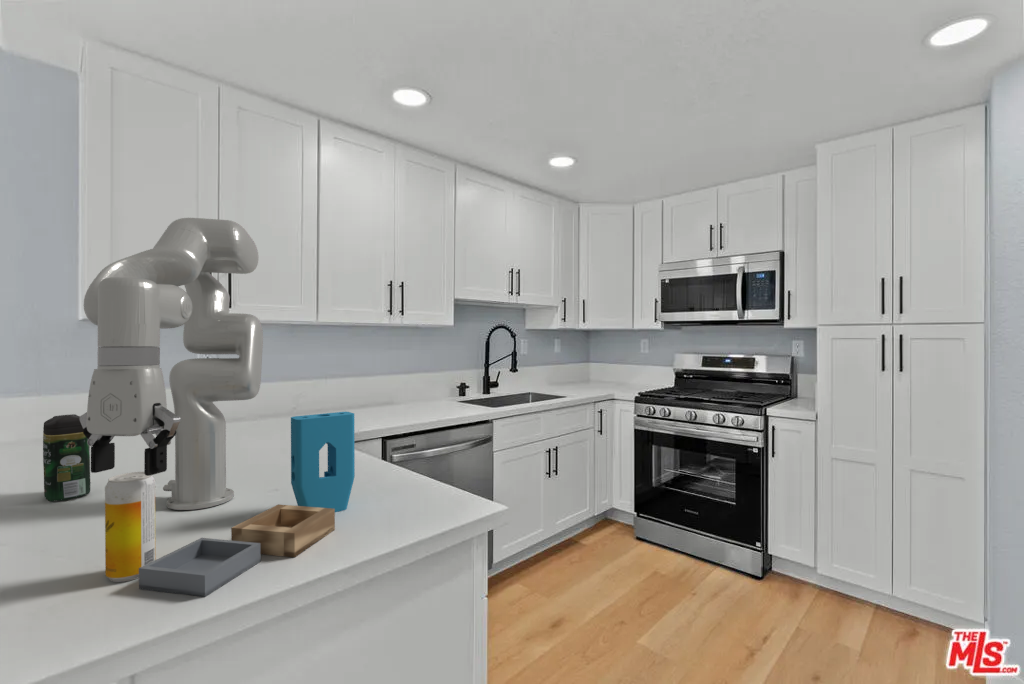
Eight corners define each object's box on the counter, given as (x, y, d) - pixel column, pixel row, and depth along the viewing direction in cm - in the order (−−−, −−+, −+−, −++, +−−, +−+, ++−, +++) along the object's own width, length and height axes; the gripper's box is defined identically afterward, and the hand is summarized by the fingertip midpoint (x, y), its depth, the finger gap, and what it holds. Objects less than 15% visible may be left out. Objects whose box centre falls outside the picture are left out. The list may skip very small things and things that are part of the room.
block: (297, 520, 98) (297, 419, 98) (289, 514, 101) (289, 416, 101) (356, 507, 105) (355, 413, 105) (347, 501, 109) (346, 411, 109)
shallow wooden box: (231, 551, 84) (231, 527, 84) (278, 525, 95) (278, 504, 95) (294, 557, 81) (294, 533, 81) (334, 529, 93) (334, 508, 93)
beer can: (123, 565, 78) (123, 471, 78) (164, 564, 79) (163, 470, 79) (95, 584, 72) (94, 482, 72) (139, 582, 73) (138, 481, 73)
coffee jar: (41, 495, 113) (41, 415, 113) (87, 488, 119) (86, 411, 119) (45, 505, 107) (44, 419, 107) (93, 496, 113) (92, 415, 112)
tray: (139, 588, 71) (138, 568, 71) (201, 555, 82) (201, 537, 82) (205, 596, 69) (204, 575, 69) (260, 561, 80) (260, 543, 80)
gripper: (57, 360, 73) (56, 475, 73) (154, 359, 70) (154, 481, 70) (107, 359, 81) (107, 464, 80) (198, 358, 77) (197, 468, 77)
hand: (129, 472), depth 75 cm, fingers open, 9 cm apart
